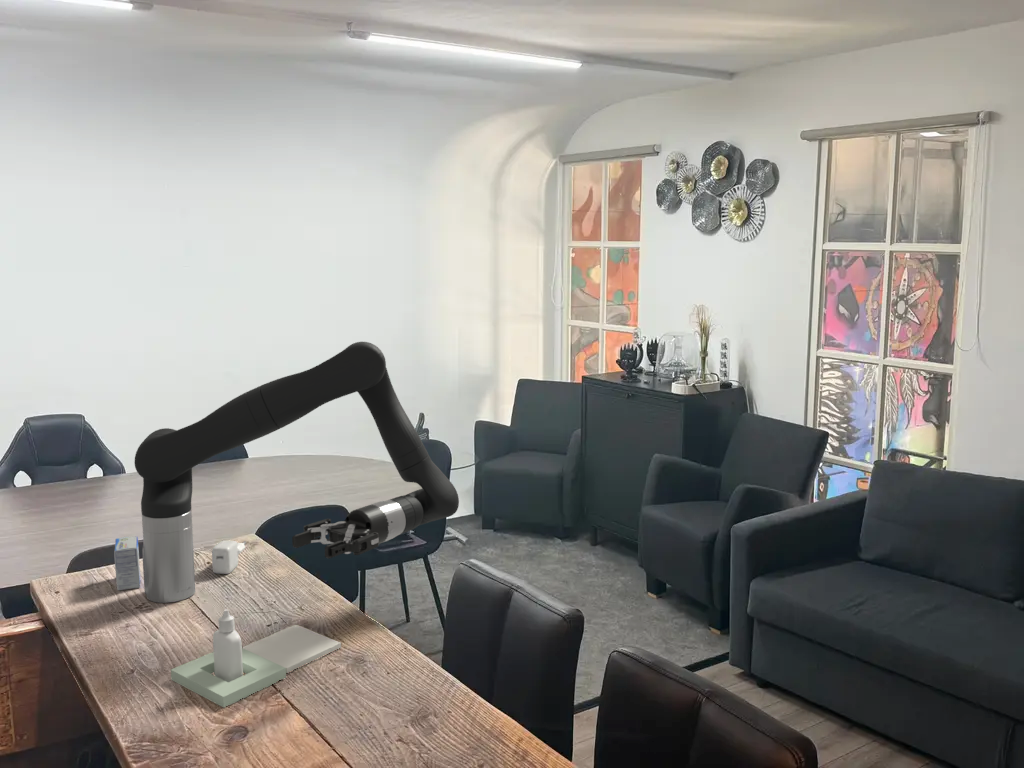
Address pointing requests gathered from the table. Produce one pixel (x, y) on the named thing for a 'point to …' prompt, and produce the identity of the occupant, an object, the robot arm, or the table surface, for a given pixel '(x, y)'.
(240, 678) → the holder
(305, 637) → the tile
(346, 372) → the robot arm
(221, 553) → the power adapter
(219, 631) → the eye dropper bottle
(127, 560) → the medicine box
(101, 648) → the table surface
